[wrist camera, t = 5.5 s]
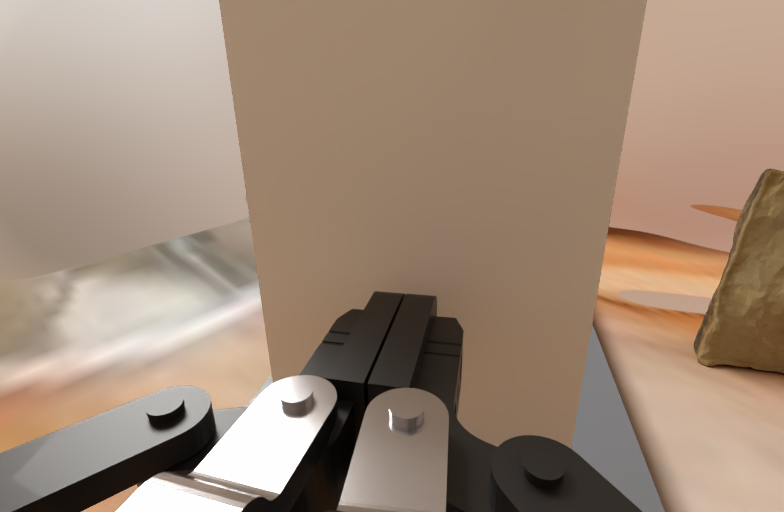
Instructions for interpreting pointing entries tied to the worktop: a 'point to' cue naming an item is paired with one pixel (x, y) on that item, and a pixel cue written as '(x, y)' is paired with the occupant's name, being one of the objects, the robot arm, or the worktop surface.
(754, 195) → the rock
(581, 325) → the tile
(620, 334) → the worktop surface
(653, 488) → the board
